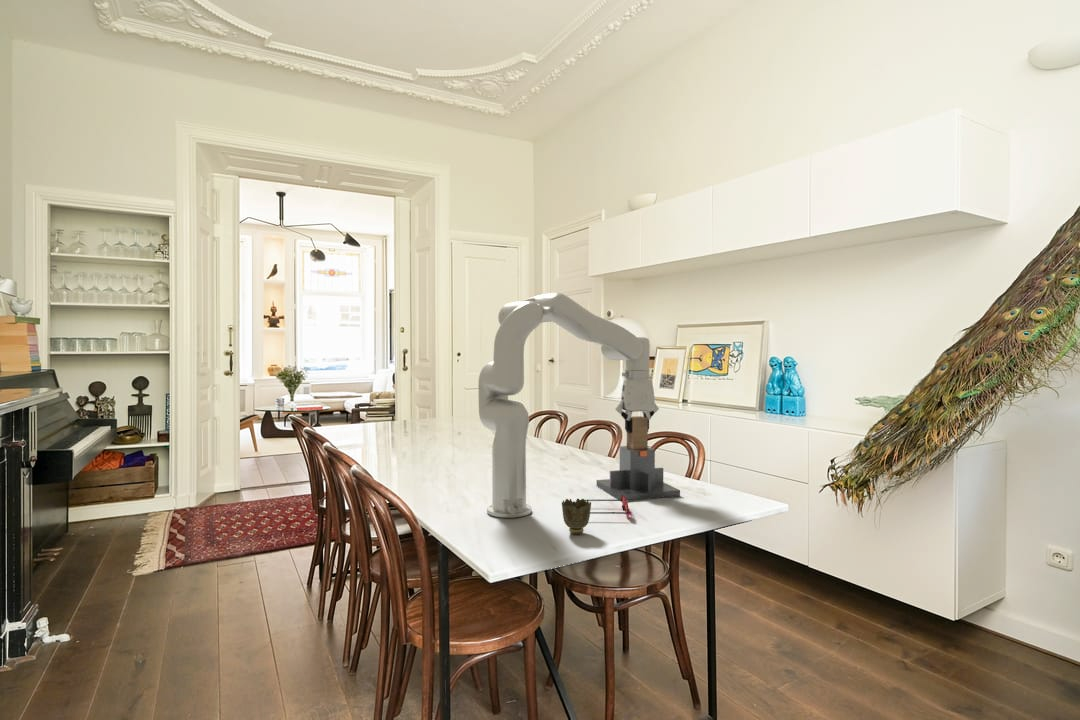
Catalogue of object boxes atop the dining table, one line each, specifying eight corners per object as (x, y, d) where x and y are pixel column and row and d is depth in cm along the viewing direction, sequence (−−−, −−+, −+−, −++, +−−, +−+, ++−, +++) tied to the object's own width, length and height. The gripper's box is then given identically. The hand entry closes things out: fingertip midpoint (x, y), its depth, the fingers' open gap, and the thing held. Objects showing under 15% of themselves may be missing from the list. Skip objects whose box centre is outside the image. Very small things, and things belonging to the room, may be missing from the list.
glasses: (632, 522, 161) (632, 504, 161) (570, 522, 162) (570, 504, 162) (625, 508, 175) (625, 491, 175) (569, 508, 176) (569, 491, 176)
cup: (589, 528, 155) (589, 497, 155) (592, 537, 148) (593, 505, 147) (560, 528, 155) (560, 498, 155) (562, 538, 147) (562, 505, 147)
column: (647, 477, 192) (647, 418, 191) (632, 478, 191) (633, 418, 190) (640, 473, 197) (640, 416, 196) (626, 474, 196) (626, 416, 195)
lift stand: (680, 496, 187) (680, 451, 187) (620, 501, 182) (620, 455, 181) (650, 482, 206) (651, 441, 206) (596, 486, 201) (596, 444, 200)
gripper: (617, 376, 187) (617, 434, 187) (667, 375, 192) (666, 432, 192) (608, 375, 194) (607, 431, 195) (656, 374, 199) (655, 429, 199)
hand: (637, 431), depth 193 cm, fingers closed on column, 5 cm apart
